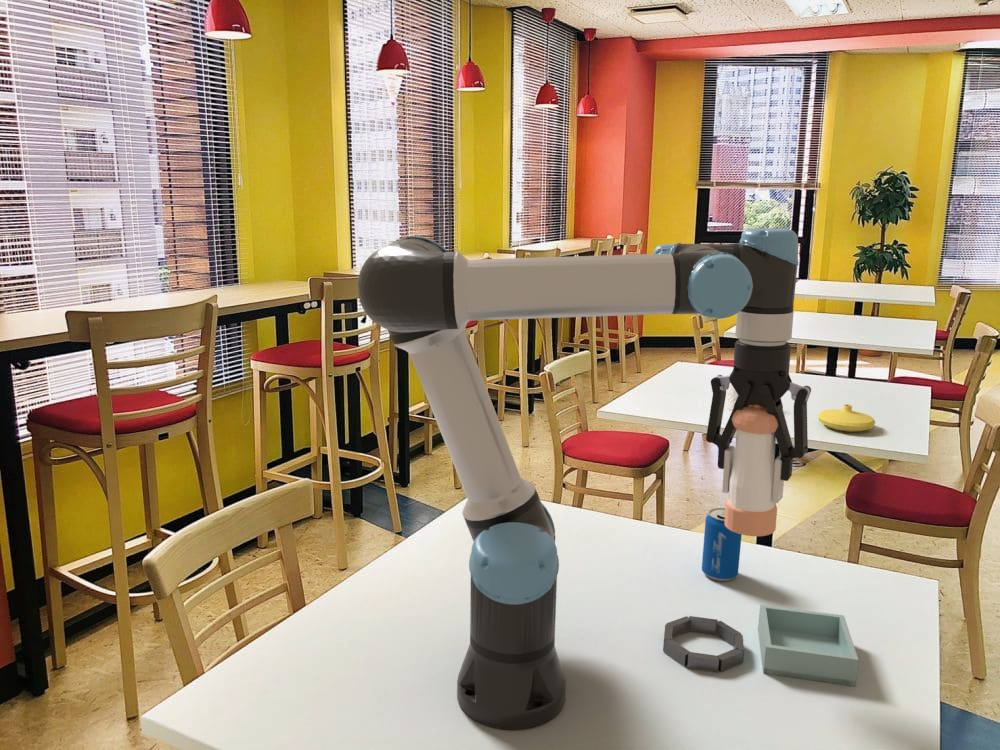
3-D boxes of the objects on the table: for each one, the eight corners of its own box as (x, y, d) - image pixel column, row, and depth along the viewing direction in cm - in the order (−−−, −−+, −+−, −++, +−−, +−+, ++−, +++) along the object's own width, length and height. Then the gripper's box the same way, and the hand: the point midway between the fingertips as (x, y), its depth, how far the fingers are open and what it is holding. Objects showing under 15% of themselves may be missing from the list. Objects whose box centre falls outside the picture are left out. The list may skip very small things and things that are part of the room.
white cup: (720, 407, 262) (722, 377, 259) (739, 404, 265) (742, 374, 263) (737, 413, 255) (739, 382, 253) (756, 411, 258) (759, 380, 256)
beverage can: (697, 577, 149) (702, 516, 146) (706, 563, 154) (711, 504, 152) (733, 586, 146) (739, 523, 143) (741, 571, 151) (746, 511, 149)
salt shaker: (713, 522, 122) (720, 399, 118) (748, 512, 126) (756, 392, 121) (751, 540, 116) (760, 411, 112) (786, 529, 120) (796, 403, 115)
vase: (881, 438, 233) (884, 414, 231) (823, 434, 235) (825, 411, 234) (865, 422, 248) (868, 400, 247) (811, 419, 251) (814, 397, 249)
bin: (854, 686, 117) (858, 659, 116) (763, 673, 120) (766, 646, 119) (840, 639, 129) (844, 615, 128) (757, 628, 132) (760, 604, 131)
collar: (744, 676, 119) (745, 664, 119) (661, 664, 122) (662, 652, 122) (740, 634, 130) (741, 622, 130) (665, 623, 133) (666, 612, 133)
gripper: (842, 343, 112) (827, 500, 118) (704, 329, 123) (697, 474, 128) (830, 352, 106) (815, 518, 111) (686, 337, 117) (679, 489, 122)
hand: (752, 494), depth 120 cm, fingers closed on salt shaker, 7 cm apart
